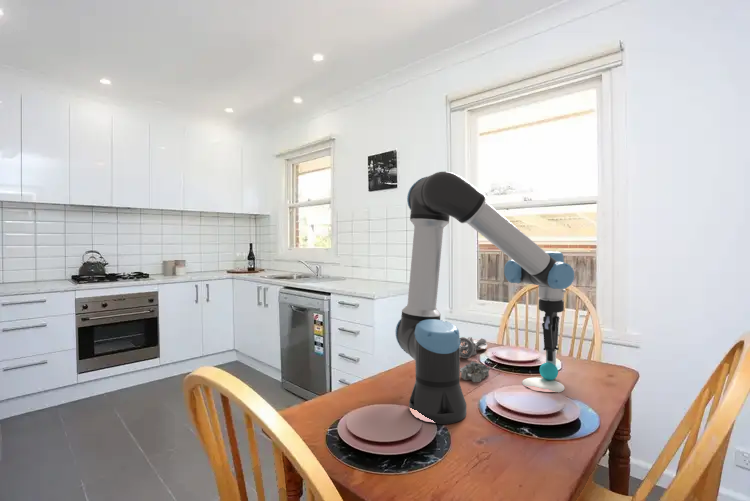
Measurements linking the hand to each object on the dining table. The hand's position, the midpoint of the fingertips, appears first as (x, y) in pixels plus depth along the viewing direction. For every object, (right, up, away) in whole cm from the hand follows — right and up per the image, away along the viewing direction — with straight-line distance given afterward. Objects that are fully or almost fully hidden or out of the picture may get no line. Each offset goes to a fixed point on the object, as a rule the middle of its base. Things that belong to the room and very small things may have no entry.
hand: (551, 369), depth 127 cm
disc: (-6, -3, -7) cm, 10 cm away
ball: (-2, 0, -3) cm, 3 cm away
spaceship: (-24, -2, +20) cm, 31 cm away
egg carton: (-25, -3, +1) cm, 25 cm away
